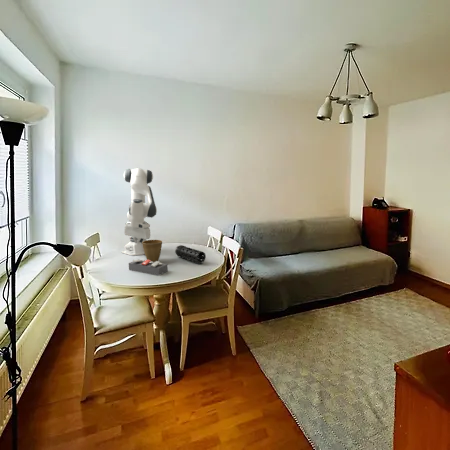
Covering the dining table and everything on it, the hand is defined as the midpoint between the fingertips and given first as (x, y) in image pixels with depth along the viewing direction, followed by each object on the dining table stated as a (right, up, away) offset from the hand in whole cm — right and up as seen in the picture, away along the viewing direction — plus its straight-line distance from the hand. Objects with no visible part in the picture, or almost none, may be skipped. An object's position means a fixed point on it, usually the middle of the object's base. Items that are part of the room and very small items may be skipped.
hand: (137, 243), depth 203 cm
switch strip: (+6, -20, +7) cm, 21 cm away
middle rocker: (+5, -14, +4) cm, 16 cm away
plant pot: (+4, -16, +27) cm, 31 cm away
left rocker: (-2, -13, +7) cm, 15 cm away
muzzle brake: (+32, -16, +30) cm, 47 cm away
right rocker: (+13, -15, +1) cm, 19 cm away
